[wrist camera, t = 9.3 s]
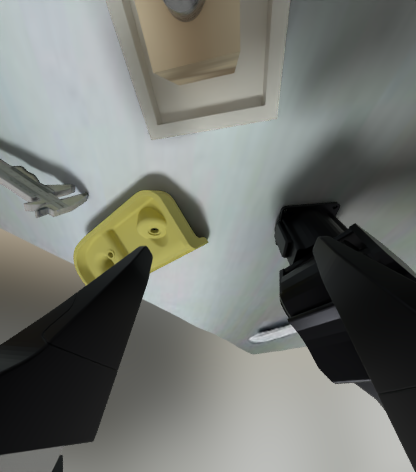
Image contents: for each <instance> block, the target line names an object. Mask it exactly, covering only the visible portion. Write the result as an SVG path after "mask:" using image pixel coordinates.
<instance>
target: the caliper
mask: <svg viewBox="0 0 416 472" xmlns="http://www.w3.org/2000/svg"><path fill="white" fill-rule="evenodd" d="M0 184H2V185H3V186H5V187H6V188H8V189H9V190H11V191H12V192H14V193H15V194H17V195H19V196H20V197H22V198H23V199H25V200H26V201H28V203H24V208H25V211H35V214H36V218H38V217H41V216H44V215H47V214H49V215H51V216H53V217H55V216H58V215H61V214H64V213H67V212H70V211H72V210H74V209H75V208H77V207H78V206H80V205H82V204H83V203H84V202H86V201H87V197H88V195H87V193H86V192H85V193H82V194H79V195H75V196H71V197H67V198H64V199H59V198H57V197H61V196H65V195H69V194H70V193H74V192H75V186H73V185H72V184H65V185H43V184H42V183H40V182H39V180H38V179H37V178H36V176H35V175H34V174H32V173H30V172H28V171H26V169H25V168H24V167H22V166H10V165H9V164H7V163H6V162H4V161H3V160H1V159H0Z"/></svg>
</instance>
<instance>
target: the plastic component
mask: <svg viewBox="0 0 416 472" xmlns="http://www.w3.org/2000/svg"><path fill="white" fill-rule="evenodd" d="M152 228H157V229H158V230H152ZM207 243H208V241H207V239H206V238H205V237H200V238H198V237H197V236H196V235H195V234H194V232H193V231H192V229H191V227H190V226H189V224H188V222H187V221H186V219H185V217H184V216H183V214H182V212H181V211H180V209H179V207H178V206H177V204H176V202H175V201H174V199H173V198H172V197H171V196H170V195H169V194H168V193H166V192H164V191H154V190H142V191H139V192H137V193H136V194H134V195H133V196H132V197H131V198H130V199H128V200H127V201H126V202H125V203H124V204H123V205H121V206H120V207H119V208H118V209H117V210H115V211H114V212H113V213H112V214H111V215H110V216H108V217H107V218H106V219H105V220H104V221H102V222H101V223H100V224H99V225H98V226H97V227H95V228H94V229H93V230H92V231H91V232H89V233H88V234H87V235H86V236H85V237H84V238H83V239H82V240H81V241H80V242H79V243H78V245H77V246H76V248H75V251H74V265H75V268H76V270H77V273H78V275H79V276H80V278H81V279H82V281H83V282H84V284H85V285H88V284H89V283H90V282H92V281H93V280H94V279H96V278H97V277H98V276H100V275H101V274H102V273H104V272H105V271H107V270H108V269H109V268H111V267H112V266H113V265H115V264H116V263H117V262H119V261H120V260H121V259H123V258H124V257H125V256H127V255H128V254H130V253H131V252H132V251H134V250H135V249H136V248H138V247H139V246H147V247H148V248H149V250H150V252H151V253H152V255H153V261H152V265H151V270H150V273H151V272H153V271H155V270H157V269H159V268H161V267H163V266H165V265H167V264H169V263H170V262H172V261H174V260H176V259H178V258H180V257H182V256H184V255H186V254H188V253H190V252H192V251H193V250H195V249H197V248H199V247H201V246H203V245H205V244H207Z"/></svg>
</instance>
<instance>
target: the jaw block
mask: <svg viewBox="0 0 416 472" xmlns="http://www.w3.org/2000/svg"><path fill="white" fill-rule="evenodd" d="M134 1H135V5H136V9H137V13H138V16H139V20H140V24H141V28H142V32H143V36H144V39H145V43H146V47H147V51H148V55H149V59H150V63H151V66H152V70H153V73H154V74H156V75H158V76H161V77H163V78H165V79H167V80H169V81H171V82H173V83H175V84H177V85H184V84H188V83H192V82H197V81H201V80H206V79H210V78H215V77H219V76H223V75H228V74H232V73H234V72H235V69H236V65H237V62H238V58H239V54H240V0H134Z"/></svg>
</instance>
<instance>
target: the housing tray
mask: <svg viewBox="0 0 416 472" xmlns="http://www.w3.org/2000/svg"><path fill="white" fill-rule="evenodd" d="M106 3H107V6H108V9H109V12H110V15H111V18H112V21H113V25H114V28H115V31H116V34H117V37H118V40H119V43H120V46H121V49H122V52H123V55H124V58H125V61H126V64H127V67H128V70H129V73H130V76H131V79H132V83H133V86H134V89H135V92H136V95H137V98H138V101H139V104H140V107H141V110H142V113H143V116H144V119H145V122H146V125H147V128H148V131H149V134H150V138H151V140H156V139H162V138H168V137H174V136H179V135H185V134H191V133H197V132H203V131H209V130H215V129H221V128H227V127H233V126H239V125H244V124H250V123H256V122H262V121H268V120H274V119H277V114H278V105H279V97H280V88H281V79H282V70H283V61H284V52H285V43H286V35H287V26H288V17H289V8H290V0H240V54H239V58H238V62H237V65H236V69H235V72H234V73H232V74H228V75H223V76H219V77H215V78H210V79H206V80H201V81H197V82H192V83H188V84H184V85H177V84H175V83H173V82H171V81H169V80H167V79H165V78H163V77H161V76H158V75H156V74H154V73H153V70H152V66H151V63H150V59H149V55H148V51H147V47H146V43H145V39H144V36H143V32H142V28H141V24H140V20H139V16H138V13H137V9H136V5H135V1H134V0H106Z"/></svg>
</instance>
